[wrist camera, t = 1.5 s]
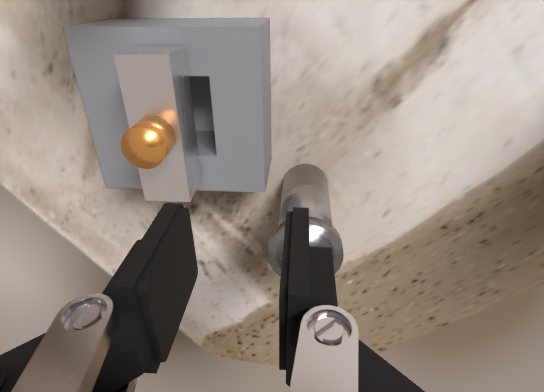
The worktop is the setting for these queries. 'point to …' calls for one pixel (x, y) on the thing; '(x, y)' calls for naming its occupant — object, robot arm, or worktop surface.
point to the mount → (204, 92)
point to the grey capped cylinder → (314, 195)
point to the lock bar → (159, 121)
